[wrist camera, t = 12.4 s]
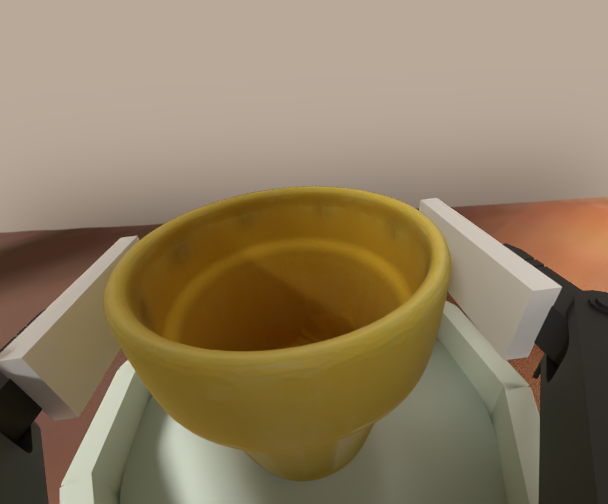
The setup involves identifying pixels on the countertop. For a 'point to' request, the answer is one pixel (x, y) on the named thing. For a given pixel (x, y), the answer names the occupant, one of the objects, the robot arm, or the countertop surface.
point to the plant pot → (283, 319)
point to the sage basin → (364, 466)
